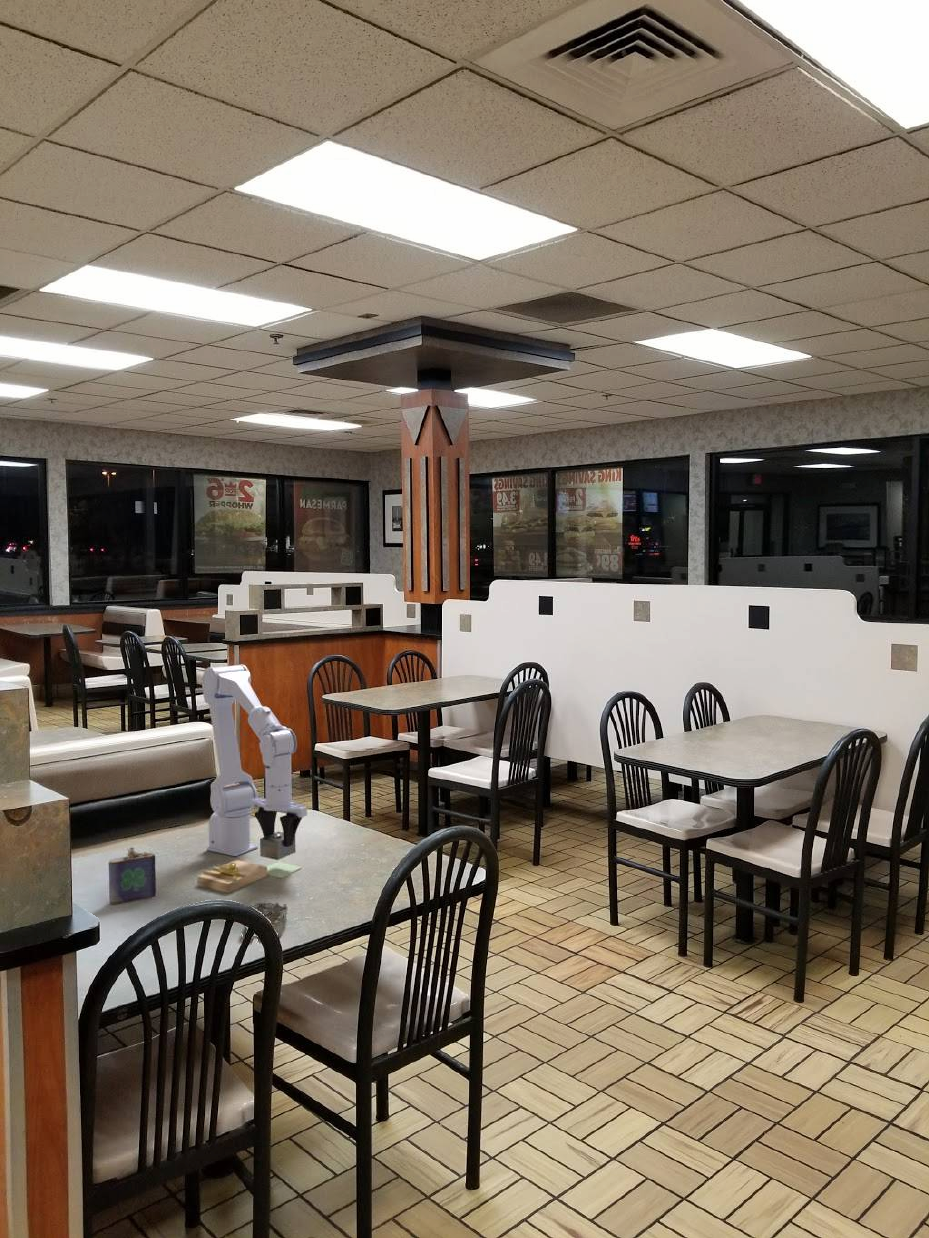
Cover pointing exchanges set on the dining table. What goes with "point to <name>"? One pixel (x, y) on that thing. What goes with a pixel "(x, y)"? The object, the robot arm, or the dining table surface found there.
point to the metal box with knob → (275, 846)
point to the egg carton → (272, 914)
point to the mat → (281, 869)
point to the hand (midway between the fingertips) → (279, 843)
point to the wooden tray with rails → (229, 883)
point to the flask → (132, 877)
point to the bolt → (230, 870)
